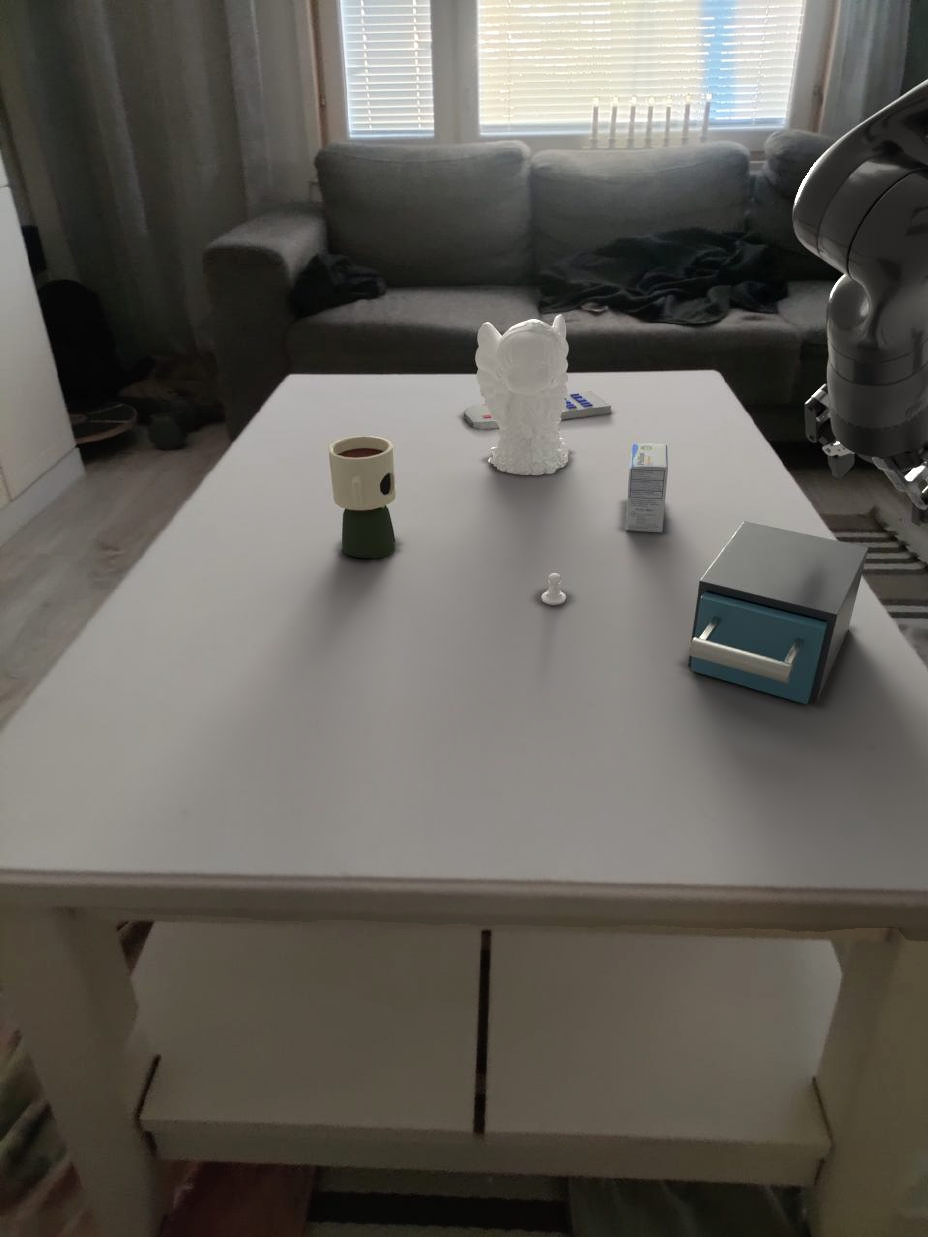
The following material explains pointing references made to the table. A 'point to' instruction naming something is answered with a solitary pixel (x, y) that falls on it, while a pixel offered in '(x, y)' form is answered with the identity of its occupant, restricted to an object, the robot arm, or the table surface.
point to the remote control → (575, 407)
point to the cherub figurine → (525, 393)
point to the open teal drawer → (757, 646)
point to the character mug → (364, 494)
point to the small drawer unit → (791, 581)
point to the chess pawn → (554, 591)
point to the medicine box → (647, 487)
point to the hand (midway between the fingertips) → (881, 493)
